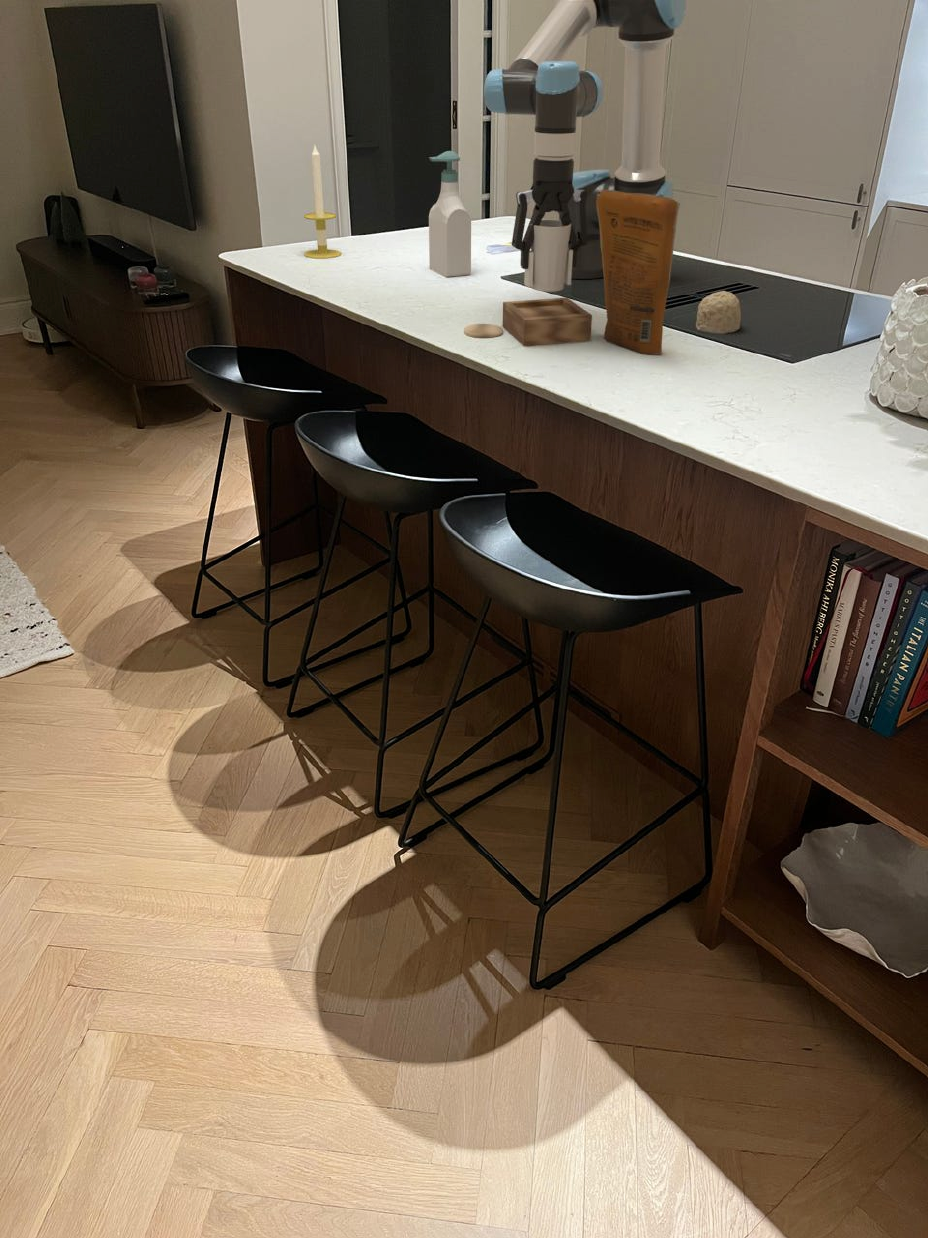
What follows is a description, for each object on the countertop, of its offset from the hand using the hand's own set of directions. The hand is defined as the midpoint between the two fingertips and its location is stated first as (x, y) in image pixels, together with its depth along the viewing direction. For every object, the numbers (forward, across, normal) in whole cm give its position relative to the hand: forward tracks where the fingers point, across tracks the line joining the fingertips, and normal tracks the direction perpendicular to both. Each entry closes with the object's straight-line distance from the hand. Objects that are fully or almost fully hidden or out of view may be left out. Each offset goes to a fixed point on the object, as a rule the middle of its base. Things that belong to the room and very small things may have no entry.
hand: (547, 284), depth 191 cm
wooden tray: (+10, 0, 0) cm, 10 cm away
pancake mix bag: (+10, -13, +12) cm, 20 cm away
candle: (+10, +33, -85) cm, 92 cm away
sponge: (+10, -36, +5) cm, 38 cm away
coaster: (+10, +12, -4) cm, 16 cm away
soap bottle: (+10, +6, -57) cm, 58 cm away
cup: (+1, 0, 0) cm, 1 cm away
